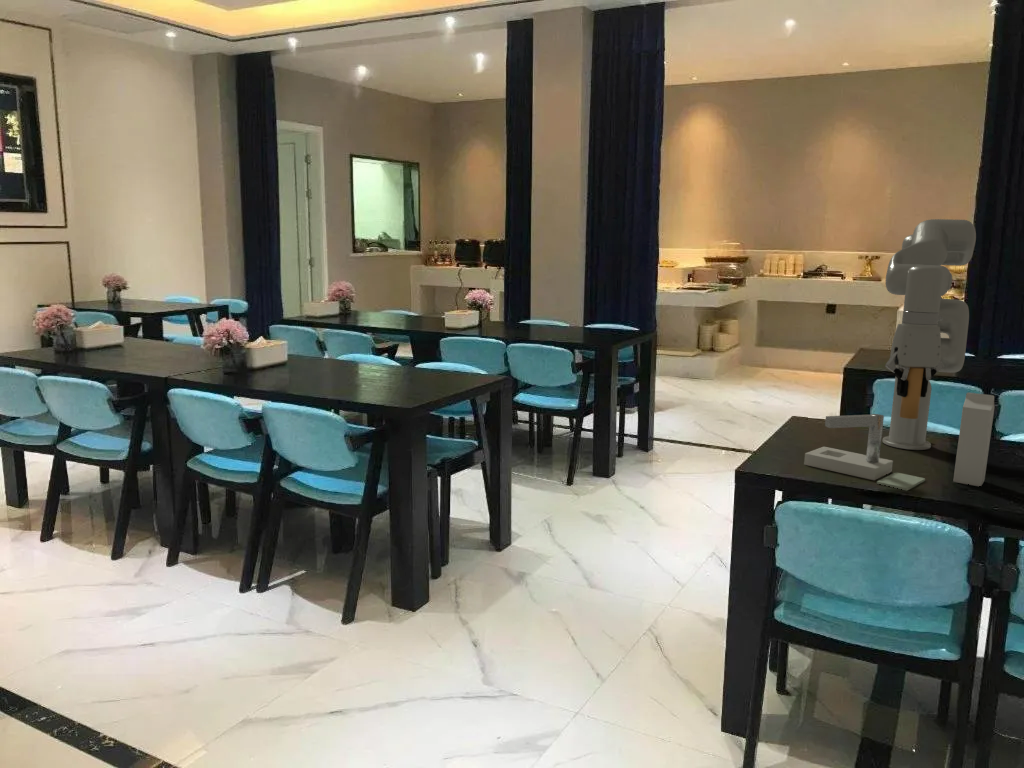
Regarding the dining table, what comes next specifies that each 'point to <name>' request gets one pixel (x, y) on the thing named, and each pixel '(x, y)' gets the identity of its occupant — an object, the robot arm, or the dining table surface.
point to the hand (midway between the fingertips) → (911, 395)
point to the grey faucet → (862, 421)
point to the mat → (901, 481)
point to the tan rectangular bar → (912, 394)
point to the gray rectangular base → (847, 463)
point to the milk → (974, 439)
